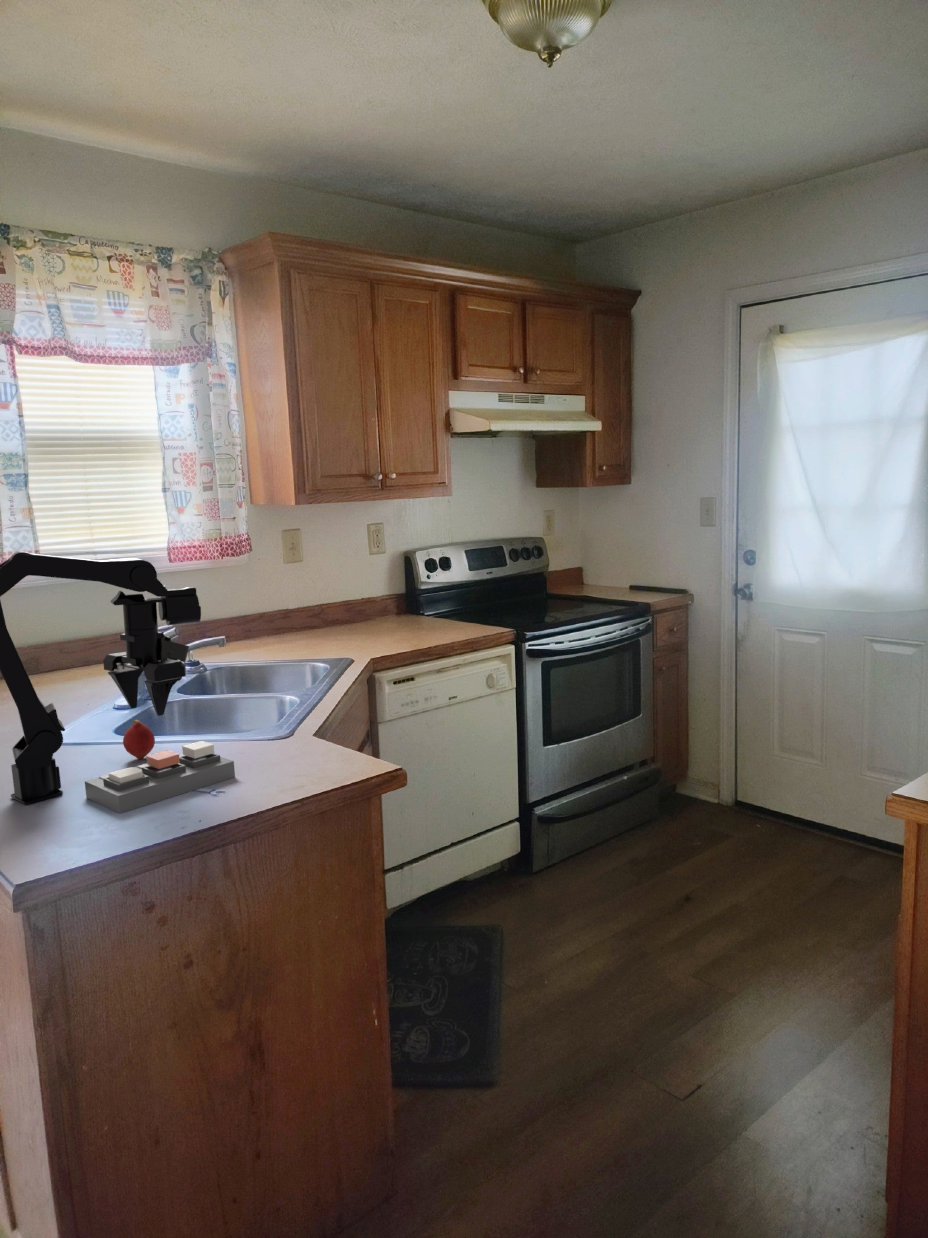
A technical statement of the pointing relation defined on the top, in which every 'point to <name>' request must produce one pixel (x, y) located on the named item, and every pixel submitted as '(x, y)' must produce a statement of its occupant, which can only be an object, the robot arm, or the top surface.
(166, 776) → the button panel
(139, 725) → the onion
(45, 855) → the top surface
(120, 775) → the button left
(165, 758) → the button middle
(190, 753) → the button right
